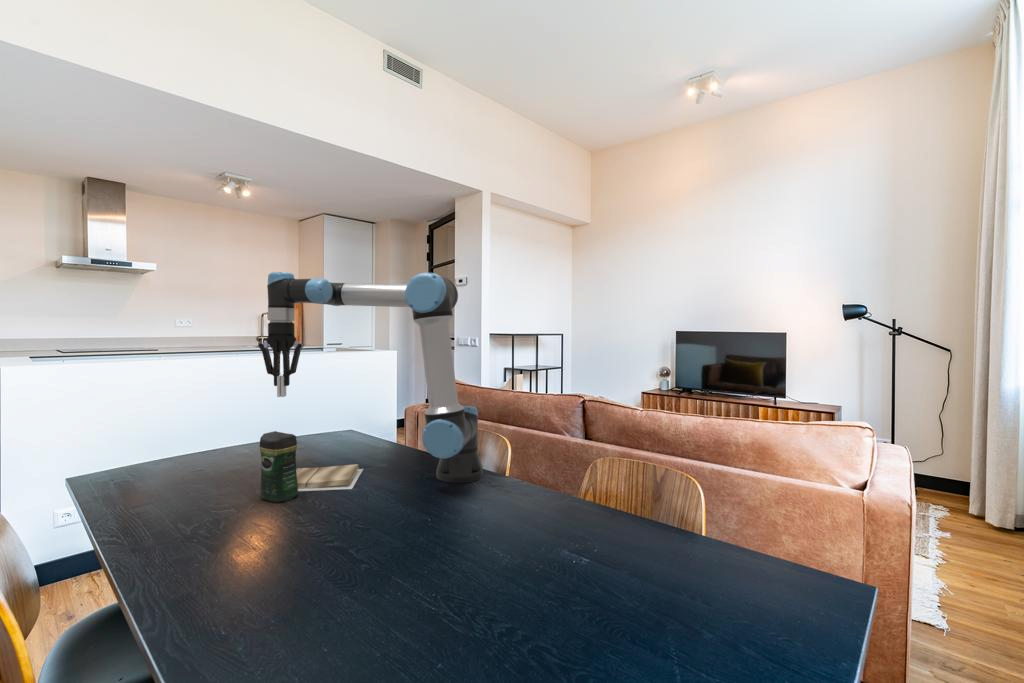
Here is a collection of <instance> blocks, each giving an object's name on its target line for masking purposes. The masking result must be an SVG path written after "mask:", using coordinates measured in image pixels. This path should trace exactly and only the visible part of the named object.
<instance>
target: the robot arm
mask: <svg viewBox="0 0 1024 683" xmlns="http://www.w3.org/2000/svg"><path fill="white" fill-rule="evenodd" d="M458 299H459V292H458V289H457V286H456V284H455V283H454V282H453V281H452V280H450V279H448V278H446V277H444V276H440V275H439V274H437V273H434V272H420V273H417V274H416V275H414V276H413V277H412V278H411V279H409V281H408V282H407V283H363V282H361V283H359V282H357V283H354V282H351V283H350V282H349V283H348V282H331V281H329V280H328V279H327V278H326V279H325V278H318V277H314V278H295V275H294V273H292V272H286V271H282V272H281V271H272V272H269V273H268V277H267V301H268V302H267V304H268V305H267V320H268V321H269V322H268V323H267V337H266V340H265V341H263V342H262V343H258V348H259V349H260V351H261V353H262V357H263V362H264V365H265V369H266V370H265V371H266V373H267V375H271V376H273V385H274V387H276V397H277V398H285V397H287V387H288V386H290V383H291V381H290V376H291V375H293V374H295V373H297V372H296V371H297V368H298V364H299V359H300V355H301V351H302V350H303V348H304V346H305V345H304V343H301V342H299V341H297V338H296V337H295V332H296V331H295V328H296V326H295V323H294V321H295V304H316V305H317V304H318V305H329V306H334V307H339V306H341V307H342V306H356V307H357V306H358V307H393V308H395V307H396V308H410V309H411V311H412V318H413V323H415V324H416V325H418V327H419V333H420V342H421V348H422V349H421V350H422V357H423V366H424V375H425V382H426V392H427V401H428V408H427V409H426V410H425V411H424V418H425V420H424V421H425V427H424V428H423V431H422V436H421V440H422V444H423V447H424V449H425V450H426V451H427V453H428V454H430V455H432V456H433V457H434V458H438V459H439V461H438V464H437V467H436V475H435V476H436V479H437V480H439V481H441V482H444V483H451V484H465V483H473V482H475V481H478V480H480V479H482V478H483V475H484V468H483V465H482V462H481V458H480V456H479V452H478V451H479V449H478V446H479V430H478V429H479V410H478V408H477V407H476V406H473V405H472V406H471V405H470V406H469V405H462V404H461V403H459V399H458V391H457V384H456V381H457V380H456V374H455V368H454V367H455V366H454V365H455V364H454V358H453V350H452V349H453V347H452V341H451V334H450V333H451V332H450V324H449V323H450V322H451V320H452V319H453V318H454V314H453V309H454V308H455V306H456V305H457V303H458ZM293 346H294V351H293V354H292V359H290V353H291V349H292V348H293ZM269 347H270V349H272V354H273V362H272V357H271V354H270V350H269ZM281 354H282V369H283V370H282V372H283V374H281ZM290 360H291V363H290Z"/></svg>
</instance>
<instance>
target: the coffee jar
mask: <svg viewBox="0 0 1024 683" xmlns="http://www.w3.org/2000/svg"><path fill="white" fill-rule="evenodd" d="M297 449H298V441H297V436H296V435H295V434H293V433H285V432H281V431H276V430H275V431H270V432H266V433H263V434H262V436H260V439H259V452H260V459H261V461H260V462H261V469H260V470H261V473H260V475H261V476H260V498H261V499H262V500H264V501H266V502H271V503H282V502H288V501H291V500H292V499H294V498H296V497H297V496H298V494H299V491H298V483H297V472H296V468H297V460H296V459H297V457H296V456H297V455H296V454H297Z"/></svg>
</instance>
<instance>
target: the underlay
mask: <svg viewBox="0 0 1024 683" xmlns="http://www.w3.org/2000/svg"><path fill="white" fill-rule="evenodd" d="M363 471H364V468H358V470H357V472H356V474H355V475H354V477H353V479H352V480H351V482H350V484H349V485H338V486H328V487H317V488H307V487H306V488H305V489H298V492H310V491H311V492H314V491H316V492H317V491H333V490H334V491H335V490H337V491H338V490H352V489H353V488H354V486H355V484H356V483H357V481H358V479H359V477H360V476H361V474H362V472H363Z"/></svg>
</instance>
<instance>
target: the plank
mask: <svg viewBox="0 0 1024 683" xmlns="http://www.w3.org/2000/svg"><path fill="white" fill-rule="evenodd" d="M358 469H359V464H358V463H355V464H345V465H343V464H342V465H334V466H321V467H319V470H318V471H317V472H316V473H315V474H314V476H313V477H312V478H311V479H310V480H309V481H308V482H307V488H317V487H328V486H338V485H349V484H350V482H351V480H352V479H353V477H354V475H355V474H356V472H357V470H358Z"/></svg>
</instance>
